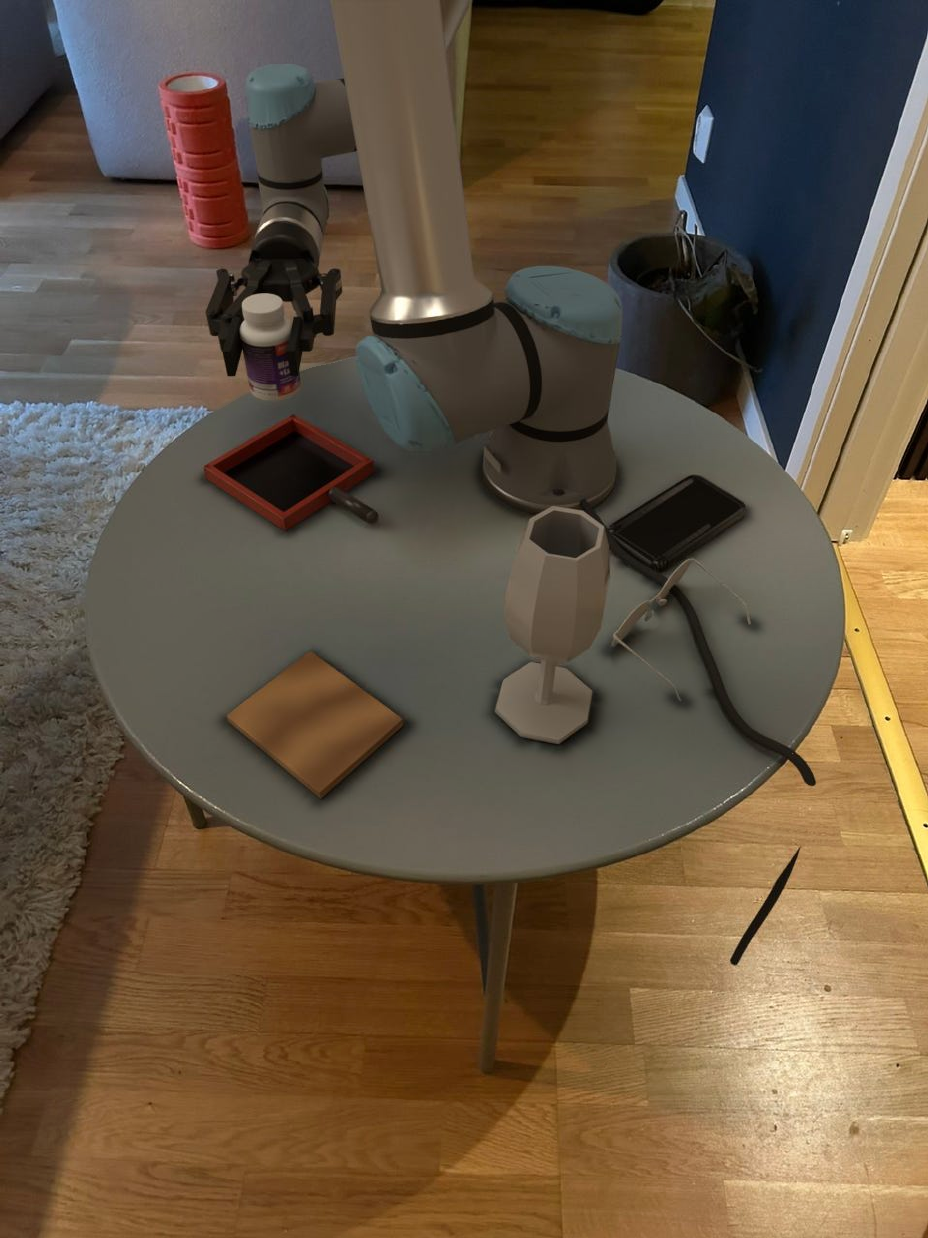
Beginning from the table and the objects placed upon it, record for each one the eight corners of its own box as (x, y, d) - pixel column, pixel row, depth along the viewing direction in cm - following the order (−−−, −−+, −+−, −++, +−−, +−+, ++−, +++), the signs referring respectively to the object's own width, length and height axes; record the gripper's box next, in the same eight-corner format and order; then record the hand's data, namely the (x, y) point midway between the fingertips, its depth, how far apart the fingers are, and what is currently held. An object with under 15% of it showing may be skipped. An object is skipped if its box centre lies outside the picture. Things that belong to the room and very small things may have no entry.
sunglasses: (679, 580, 93) (696, 549, 89) (748, 629, 90) (768, 599, 86) (601, 657, 86) (615, 627, 82) (672, 713, 83) (690, 684, 79)
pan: (420, 499, 101) (419, 483, 100) (331, 562, 94) (329, 546, 93) (295, 426, 111) (292, 410, 109) (205, 478, 104) (201, 463, 102)
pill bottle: (292, 406, 93) (278, 319, 86) (242, 399, 94) (225, 313, 87) (308, 377, 97) (297, 292, 90) (260, 371, 98) (245, 286, 91)
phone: (604, 528, 97) (694, 471, 103) (602, 536, 97) (692, 479, 104) (660, 568, 93) (751, 506, 99) (658, 575, 93) (748, 514, 100)
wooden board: (403, 725, 80) (403, 718, 80) (320, 799, 75) (319, 793, 75) (311, 657, 86) (310, 650, 85) (228, 721, 81) (226, 715, 80)
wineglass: (563, 761, 78) (591, 590, 63) (477, 717, 81) (483, 544, 66) (608, 693, 83) (643, 520, 68) (525, 654, 86) (541, 480, 71)
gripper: (369, 283, 106) (359, 396, 90) (211, 284, 106) (173, 397, 90) (365, 219, 101) (353, 327, 85) (198, 220, 100) (155, 328, 85)
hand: (260, 363), depth 88 cm, fingers closed on pill bottle, 5 cm apart
